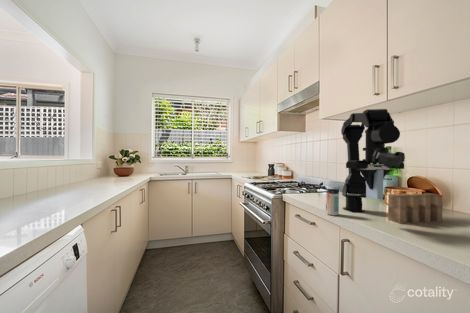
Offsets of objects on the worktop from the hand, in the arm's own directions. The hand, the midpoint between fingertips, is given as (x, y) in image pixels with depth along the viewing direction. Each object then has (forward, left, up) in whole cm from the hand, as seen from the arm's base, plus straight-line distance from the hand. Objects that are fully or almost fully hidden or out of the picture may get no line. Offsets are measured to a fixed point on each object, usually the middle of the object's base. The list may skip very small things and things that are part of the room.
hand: (374, 189), depth 75 cm
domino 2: (-3, +18, -13) cm, 22 cm away
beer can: (-15, -6, -13) cm, 21 cm away
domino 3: (-3, +24, -13) cm, 27 cm away
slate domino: (0, 0, -3) cm, 3 cm away
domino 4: (-3, +29, -13) cm, 32 cm away
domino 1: (-3, +13, -13) cm, 18 cm away
